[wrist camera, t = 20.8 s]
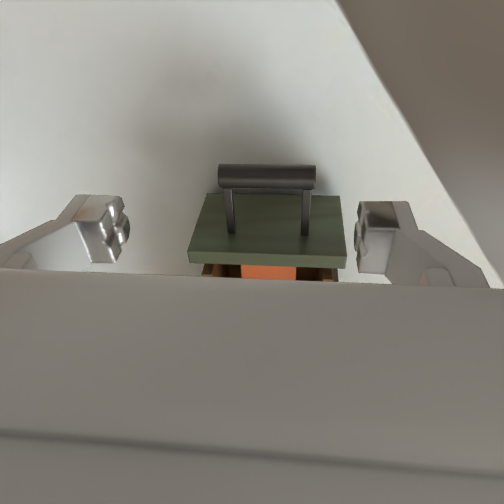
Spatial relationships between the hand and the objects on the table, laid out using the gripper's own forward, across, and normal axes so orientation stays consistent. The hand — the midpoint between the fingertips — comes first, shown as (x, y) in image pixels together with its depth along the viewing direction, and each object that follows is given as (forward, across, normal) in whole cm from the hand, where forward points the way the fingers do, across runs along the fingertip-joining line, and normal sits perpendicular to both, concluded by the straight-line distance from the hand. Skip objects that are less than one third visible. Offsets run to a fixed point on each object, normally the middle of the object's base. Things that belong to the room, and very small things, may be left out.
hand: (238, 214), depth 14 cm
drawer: (+18, 0, +15) cm, 23 cm away
